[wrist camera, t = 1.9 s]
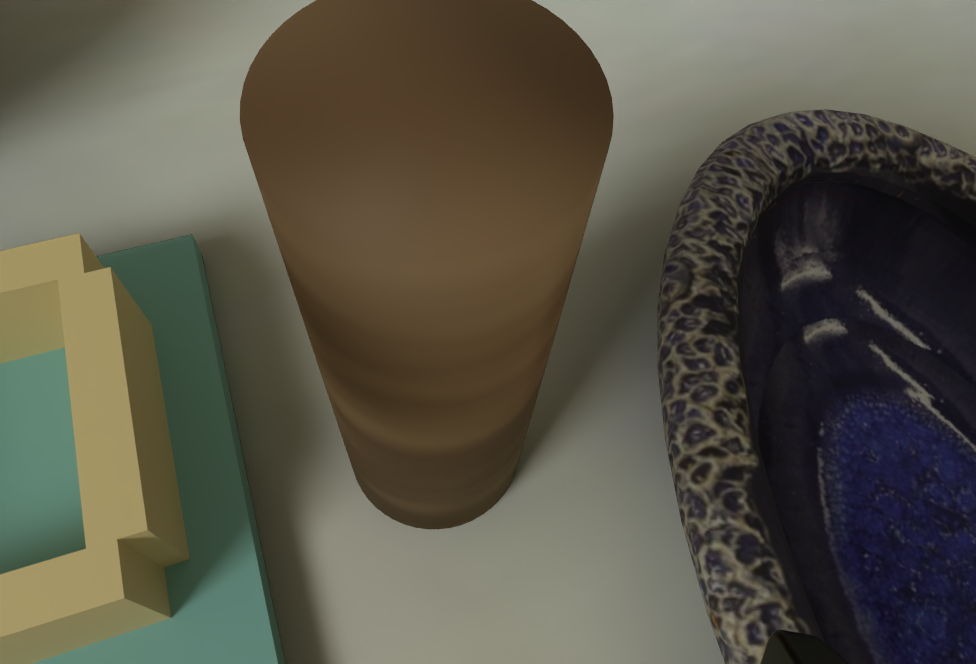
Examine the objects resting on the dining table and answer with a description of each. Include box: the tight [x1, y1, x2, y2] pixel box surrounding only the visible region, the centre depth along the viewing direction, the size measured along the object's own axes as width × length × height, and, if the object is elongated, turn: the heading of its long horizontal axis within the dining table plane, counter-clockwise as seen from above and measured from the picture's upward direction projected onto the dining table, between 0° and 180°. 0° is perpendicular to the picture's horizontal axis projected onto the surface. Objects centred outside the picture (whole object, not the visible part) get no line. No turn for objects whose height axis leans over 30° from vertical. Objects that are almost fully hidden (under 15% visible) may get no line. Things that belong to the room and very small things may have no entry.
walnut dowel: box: [240, 0, 613, 529], centre depth 15 cm, size 5×5×13 cm
